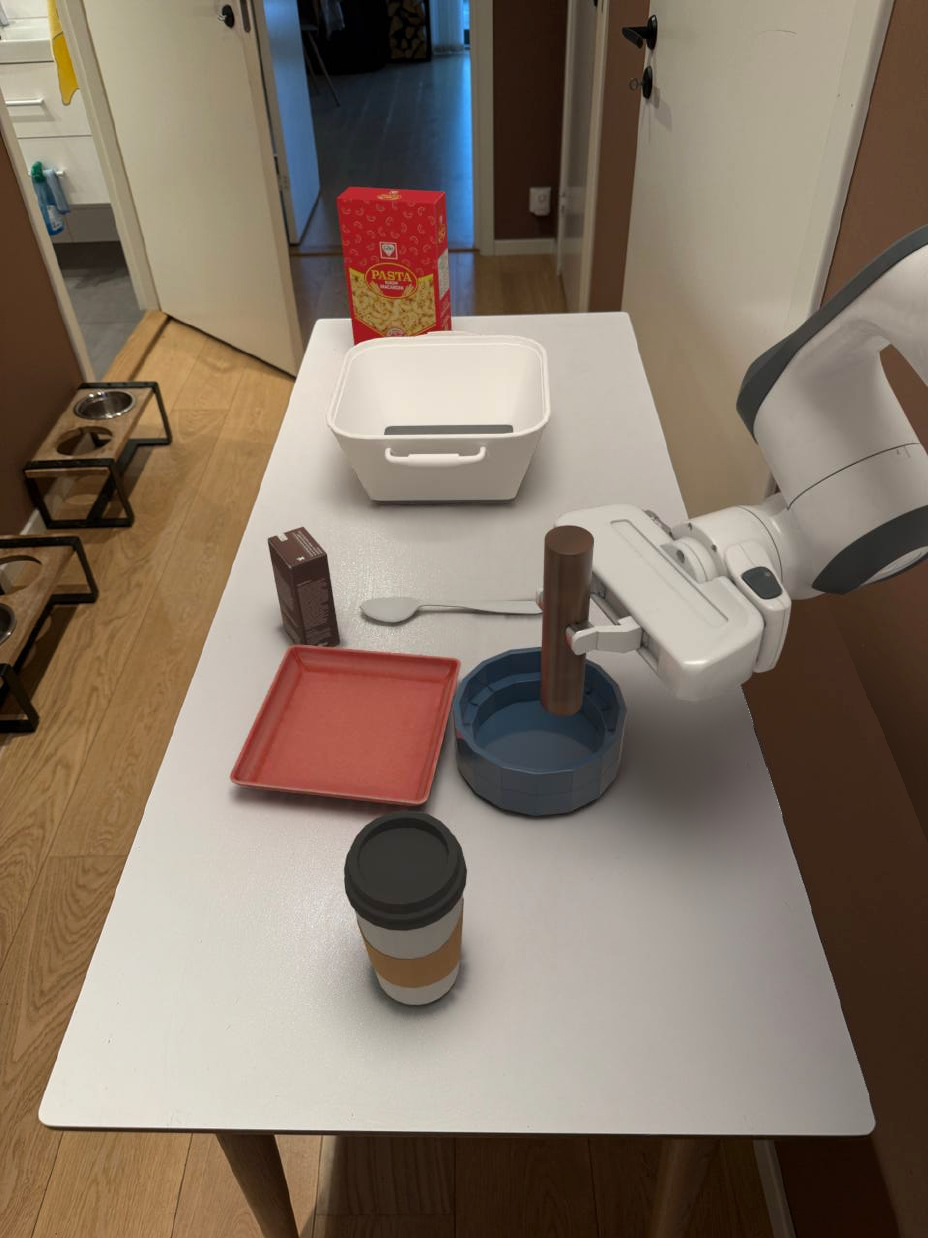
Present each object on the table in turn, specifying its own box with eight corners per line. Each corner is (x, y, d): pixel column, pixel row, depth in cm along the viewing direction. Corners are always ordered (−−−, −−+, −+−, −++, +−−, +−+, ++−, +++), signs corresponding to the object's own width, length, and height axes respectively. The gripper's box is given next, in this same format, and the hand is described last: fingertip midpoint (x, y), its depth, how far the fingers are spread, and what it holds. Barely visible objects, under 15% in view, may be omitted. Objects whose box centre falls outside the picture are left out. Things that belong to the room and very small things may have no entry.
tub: (550, 545, 110) (553, 452, 102) (328, 546, 112) (313, 454, 103) (543, 406, 136) (545, 322, 127) (362, 408, 137) (352, 326, 129)
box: (343, 642, 99) (328, 553, 91) (305, 658, 97) (286, 569, 89) (319, 612, 103) (303, 523, 95) (282, 627, 101) (262, 538, 93)
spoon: (362, 603, 104) (360, 592, 103) (545, 595, 103) (546, 584, 102) (359, 628, 100) (358, 617, 99) (549, 620, 100) (549, 609, 99)
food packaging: (356, 360, 149) (336, 198, 133) (367, 346, 153) (349, 186, 136) (443, 369, 146) (434, 203, 129) (452, 354, 150) (445, 191, 133)
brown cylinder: (590, 697, 74) (603, 535, 64) (567, 723, 72) (576, 560, 62) (555, 680, 76) (562, 519, 65) (531, 704, 74) (534, 542, 63)
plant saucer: (233, 803, 83) (225, 780, 81) (293, 664, 97) (288, 641, 94) (429, 827, 81) (426, 804, 78) (464, 681, 94) (462, 657, 92)
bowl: (650, 740, 87) (657, 693, 83) (559, 850, 78) (562, 802, 74) (519, 673, 94) (520, 625, 90) (423, 766, 86) (418, 718, 82)
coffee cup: (380, 911, 75) (360, 796, 65) (481, 928, 73) (477, 813, 63) (350, 1010, 69) (323, 900, 59) (460, 1031, 67) (451, 922, 57)
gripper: (645, 471, 77) (494, 513, 73) (806, 617, 63) (629, 678, 59) (638, 533, 81) (495, 576, 77) (788, 683, 67) (622, 744, 63)
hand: (554, 622), depth 68 cm, fingers closed on brown cylinder, 3 cm apart
